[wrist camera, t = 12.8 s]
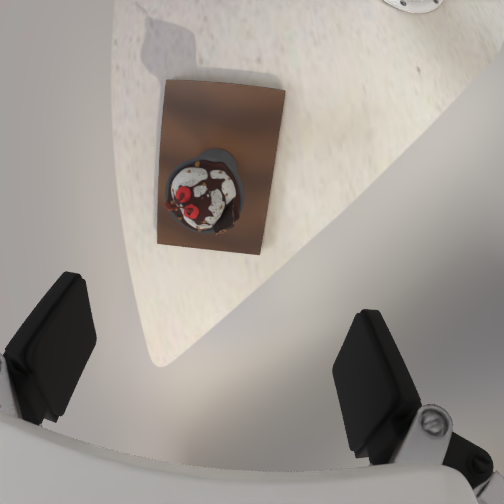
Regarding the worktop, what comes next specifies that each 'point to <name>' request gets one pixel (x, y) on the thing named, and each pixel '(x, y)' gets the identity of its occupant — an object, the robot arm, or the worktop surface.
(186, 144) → the serving board
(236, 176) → the sundae
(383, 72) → the worktop surface
